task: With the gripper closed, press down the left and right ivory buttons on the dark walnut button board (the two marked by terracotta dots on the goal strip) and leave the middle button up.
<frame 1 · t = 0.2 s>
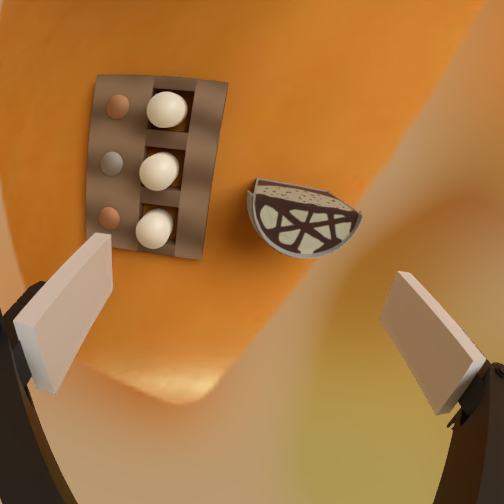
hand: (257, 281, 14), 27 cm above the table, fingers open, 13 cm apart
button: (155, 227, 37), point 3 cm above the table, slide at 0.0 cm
button mid: (160, 170, 35), point 3 cm above the table, slide at 0.0 cm
food container: (288, 206, 41), on the table
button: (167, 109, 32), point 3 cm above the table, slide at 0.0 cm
board: (150, 164, 37), on the table
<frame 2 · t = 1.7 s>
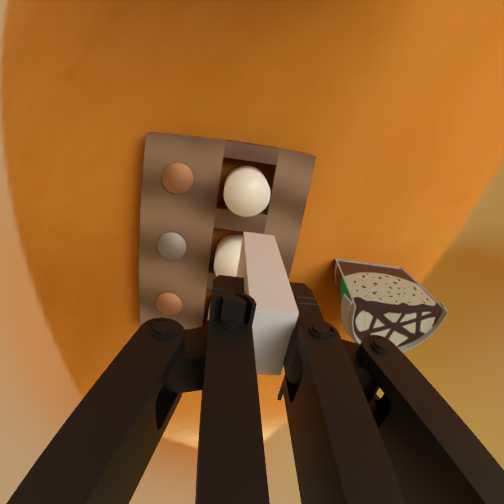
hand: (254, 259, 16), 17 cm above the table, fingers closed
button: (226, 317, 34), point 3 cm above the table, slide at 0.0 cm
button mid: (235, 259, 31), point 3 cm above the table, slide at 0.0 cm
food container: (362, 284, 38), on the table
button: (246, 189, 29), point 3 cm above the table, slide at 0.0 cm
board: (216, 243, 34), on the table
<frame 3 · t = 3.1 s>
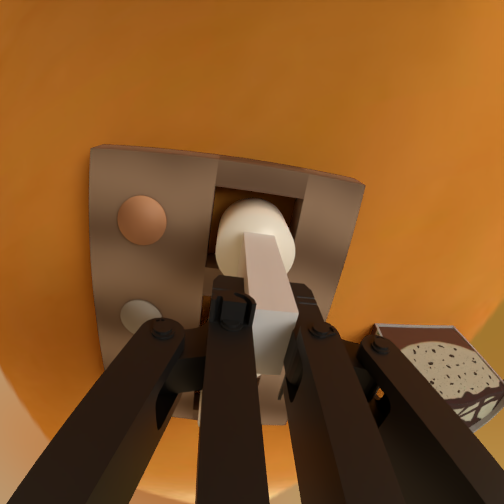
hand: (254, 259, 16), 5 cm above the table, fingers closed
button mid: (236, 342, 20), point 3 cm above the table, slide at 0.0 cm
food container: (403, 350, 26), on the table
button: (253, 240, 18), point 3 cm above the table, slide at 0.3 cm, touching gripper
board: (208, 310, 23), on the table
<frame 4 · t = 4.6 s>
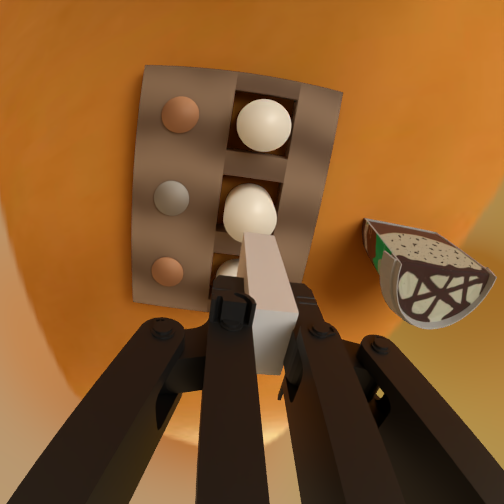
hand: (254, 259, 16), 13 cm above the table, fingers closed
button mid: (249, 212, 25), point 3 cm above the table, slide at 0.0 cm
food container: (393, 251, 32), on the table
board: (225, 197, 28), on the table
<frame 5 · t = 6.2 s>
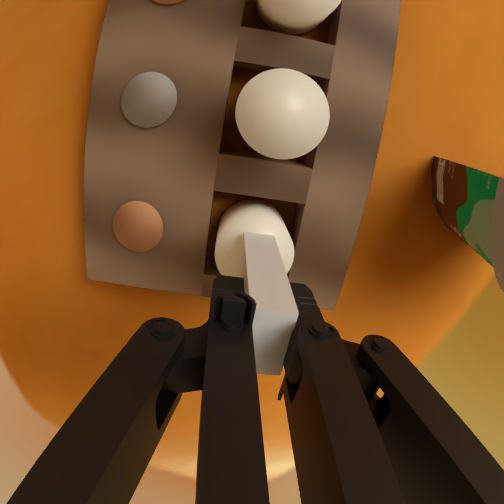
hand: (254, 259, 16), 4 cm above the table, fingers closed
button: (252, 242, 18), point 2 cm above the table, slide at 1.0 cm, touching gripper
button mid: (278, 113, 14), point 3 cm above the table, slide at 0.0 cm
food container: (466, 210, 20), on the table
board: (235, 108, 17), on the table
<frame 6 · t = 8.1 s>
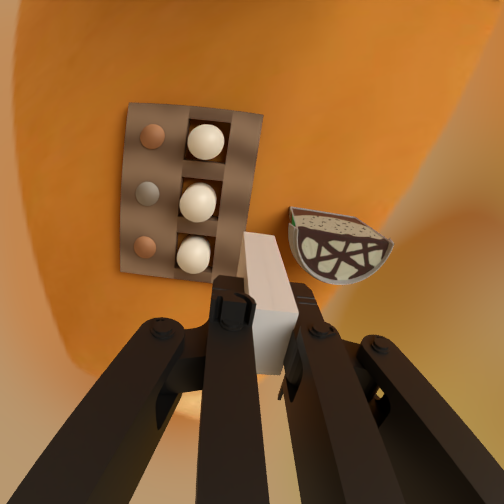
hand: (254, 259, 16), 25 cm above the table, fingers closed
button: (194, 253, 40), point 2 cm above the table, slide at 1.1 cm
button mid: (198, 201, 37), point 3 cm above the table, slide at 0.0 cm
food container: (318, 233, 43), on the table
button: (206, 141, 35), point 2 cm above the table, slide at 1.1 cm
board: (185, 193, 39), on the table
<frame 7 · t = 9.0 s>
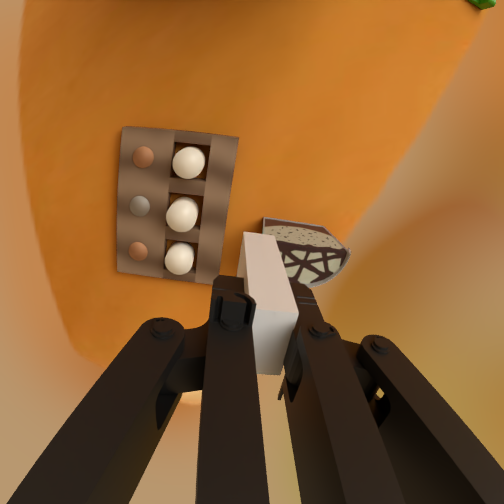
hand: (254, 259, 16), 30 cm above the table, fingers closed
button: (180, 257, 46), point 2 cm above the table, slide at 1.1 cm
button mid: (182, 213, 43), point 3 cm above the table, slide at 0.0 cm
food container: (290, 239, 49), on the table
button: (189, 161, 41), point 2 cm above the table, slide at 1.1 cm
board: (172, 205, 45), on the table
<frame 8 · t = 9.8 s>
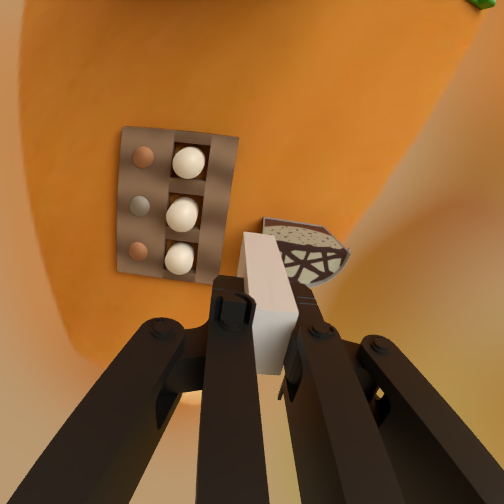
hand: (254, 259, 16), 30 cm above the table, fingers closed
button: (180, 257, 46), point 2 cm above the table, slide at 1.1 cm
button mid: (182, 213, 43), point 3 cm above the table, slide at 0.0 cm
food container: (290, 239, 49), on the table
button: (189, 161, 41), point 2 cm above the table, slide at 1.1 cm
board: (172, 205, 45), on the table
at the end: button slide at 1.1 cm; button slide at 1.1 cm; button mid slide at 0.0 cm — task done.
